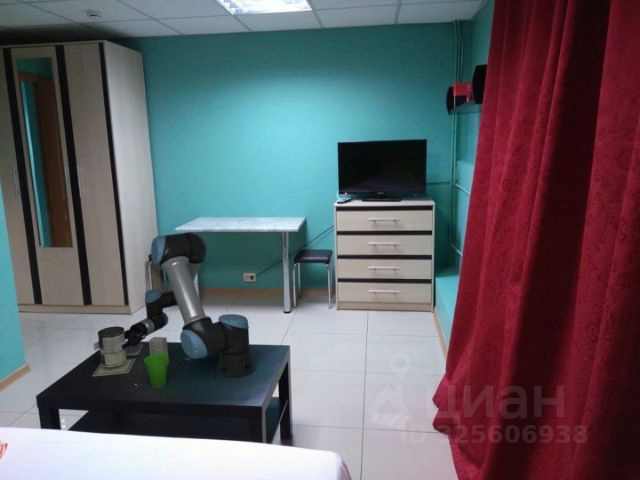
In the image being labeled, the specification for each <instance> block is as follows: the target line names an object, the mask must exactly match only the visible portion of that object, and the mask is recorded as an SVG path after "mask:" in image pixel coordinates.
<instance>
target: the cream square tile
mask: <svg viewBox="0 0 640 480" xmlns="http://www.w3.org/2000/svg"><path fill="white" fill-rule="evenodd" d="M135 360H136V358H135V357H134V358H127V361H126V362H125V363H124V364H121V365H119V366H115V367H104V366H102V365H101V362H100V363H99V365H98V366H97V368H96V370H95V372H94V373H93V374H92V377H101V376H110V375H119V374H128V373H129V372H130V371H131V369H132V367H133V364H134V363H135Z"/></svg>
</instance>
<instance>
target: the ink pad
mask: <svg viewBox="0 0 640 480" xmlns="http://www.w3.org/2000/svg"><path fill="white" fill-rule="evenodd" d="M143 346H144V343H138V344H137V345H136V346H135V347H133V346H130V347H126V354H127V357H128V356H137V355H138V356H139V355H140V353H141V351H142V349H143Z"/></svg>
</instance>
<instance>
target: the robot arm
mask: <svg viewBox="0 0 640 480" xmlns="http://www.w3.org/2000/svg"><path fill="white" fill-rule="evenodd" d="M151 241H152V242H151V247H150V255H151V261H152V263H153V264H154V265H155V266H158V265H159V267H160V270H161V271H163V272H166V275H167V278H168V281H169V284H170V286H171V290H170V291H169V290H168V291H164V292H163V291H162V290H161V289H159V288H155V289H150V290H147V291H145V294H144V302H145V313H146V318H143V319H142V320H140V321H138V322H135V323H134V324H131V326H130V327H129V329H126V330H124V334H125V341H124V342H122V343H120V344H118V345H116V346H114V352H115V353H117V352H119V351H121V350H123V349H125V348H126V347H130V346H133V347H135V346H136V345H137V344H140V342H142V341H143V340H145V339H146V337H149V335H151V334H154V333H155V332H157V331H159V330H162V329H163V328H164V327H167V325H168V323H169V320H170V319H169V316H168V314H167V313H166V312H164V309H166V308H171V307H176V306H178V309H179V311H180V315H181V317H182V320H183V322H184V324H183V326H182V328H181V329H182V331H181V333H180V335H179V339H180V344H181V345H180V346H181V347H182V350H183V351H184V353H185V354H186V355H187V357H189V358H190V359H193V360H197V359H200V358H203V359H204V358H205V357H208V356H210V355H213V354H217V353H219V352H220V357H219V360H218V363H217V373H218V375H219V376H221V377H224V378H228V379H229V378H230V379H232V378H233V379H237V378H241V377H246V376H248V375H251V374H252V373H253V372H254V371H255V368H256V367H255V366H256V365H255V364H256V363H255V360H254V358H253V355H252V353H251V349H250V331H249V328H250V327H249V322H248V321H249V320H248V319H247V317H246V316H245V315H241V314H234V313H228V314H227V313H226V314H221V315H220V316H218V321H216V322H213V320H212V318H211V316H208V315H206V312H205V310H204V308H203V305H202V302H201V299H200V297H199V294H198V292H197V289H196V286H195V283H194V282H195V279H196V277H197V274H198V271H199V269H200V266H201V264H203V262H205V260H206V257H207V252H208V250H207V249H208V248H207V245H206V242H205V241H204V239H203V237H201V236H200V235H199V234H196V233H194V232H190V231H189V232H187V231H186V232H183V233H181V232H180V233H174V234H163V235H159V236H155V237H154V238H153V239H152V240H151ZM93 350H94V351H97V350H100V347H99V340H98V341H96V342H95V343H93Z"/></svg>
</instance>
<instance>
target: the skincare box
mask: <svg viewBox="0 0 640 480" xmlns="http://www.w3.org/2000/svg"><path fill="white" fill-rule="evenodd" d="M148 344H149V346H148V347H149V356H150V355H153V354H167V355H168V356H169V350H168V341H167V337H166V336H164V337H163V336H154V337H151V339H148ZM169 364H170V357H169V358H168V361H167V366H168V365H169Z"/></svg>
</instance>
